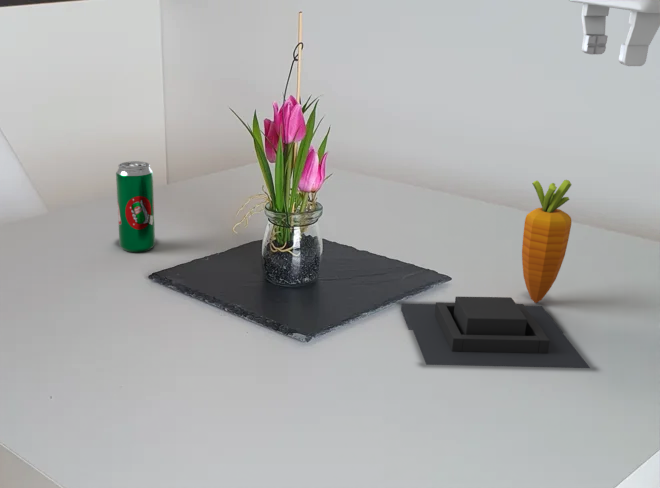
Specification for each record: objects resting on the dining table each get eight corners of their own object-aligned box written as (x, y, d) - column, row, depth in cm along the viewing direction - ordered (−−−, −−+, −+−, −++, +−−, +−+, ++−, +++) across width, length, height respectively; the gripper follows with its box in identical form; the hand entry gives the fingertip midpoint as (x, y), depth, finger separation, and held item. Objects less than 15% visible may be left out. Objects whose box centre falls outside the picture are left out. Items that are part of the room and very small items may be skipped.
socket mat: (540, 312, 97) (543, 293, 96) (590, 376, 82) (594, 354, 81) (400, 309, 98) (402, 291, 97) (424, 372, 83) (426, 351, 82)
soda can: (129, 240, 122) (125, 159, 118) (160, 244, 120) (158, 162, 116) (113, 251, 118) (109, 167, 113) (146, 255, 116) (143, 170, 112)
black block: (508, 322, 92) (511, 297, 91) (523, 345, 86) (527, 319, 85) (452, 321, 92) (455, 296, 91) (464, 344, 87) (467, 318, 86)
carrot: (504, 299, 100) (521, 176, 95) (534, 292, 102) (552, 171, 97) (536, 313, 96) (556, 186, 90) (567, 305, 98) (588, 180, 93)
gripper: (738, -115, 63) (698, 73, 68) (629, -99, 82) (605, 48, 87) (652, -114, 64) (619, 73, 69) (564, -98, 82) (543, 48, 88)
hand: (610, 59), depth 78 cm, fingers open, 8 cm apart
